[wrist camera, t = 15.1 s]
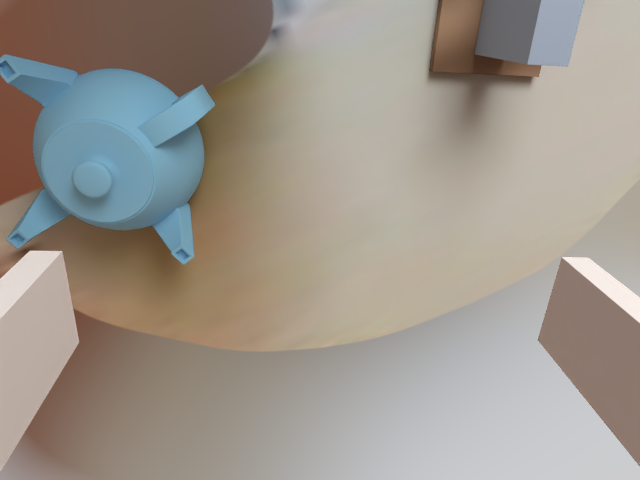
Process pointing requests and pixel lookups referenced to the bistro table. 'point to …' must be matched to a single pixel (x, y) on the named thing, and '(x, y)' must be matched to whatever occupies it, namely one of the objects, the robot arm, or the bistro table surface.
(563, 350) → the robot arm
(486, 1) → the pale blue rectangular block
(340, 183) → the bistro table surface
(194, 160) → the blue round finned body
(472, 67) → the l-shaped wooden stand
